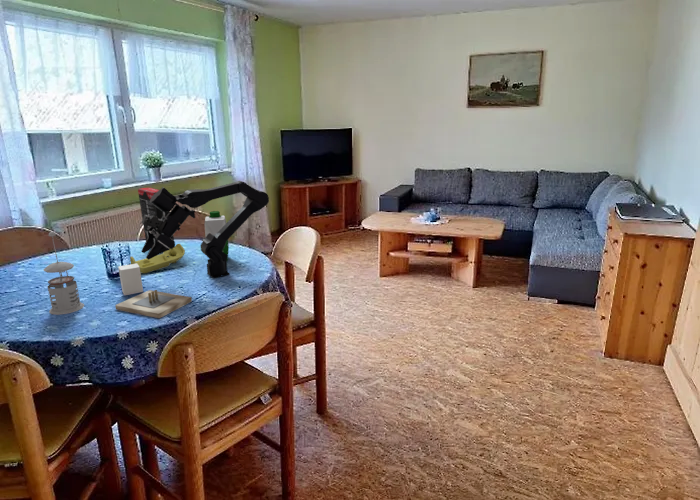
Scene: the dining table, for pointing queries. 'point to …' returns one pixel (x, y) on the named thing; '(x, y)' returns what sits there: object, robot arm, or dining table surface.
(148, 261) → the plastic component
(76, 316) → the dining table surface
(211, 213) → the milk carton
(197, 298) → the dining table surface
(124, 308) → the board
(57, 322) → the dining table surface
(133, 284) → the block
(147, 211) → the graphics card box
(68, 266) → the french press
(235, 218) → the robot arm
